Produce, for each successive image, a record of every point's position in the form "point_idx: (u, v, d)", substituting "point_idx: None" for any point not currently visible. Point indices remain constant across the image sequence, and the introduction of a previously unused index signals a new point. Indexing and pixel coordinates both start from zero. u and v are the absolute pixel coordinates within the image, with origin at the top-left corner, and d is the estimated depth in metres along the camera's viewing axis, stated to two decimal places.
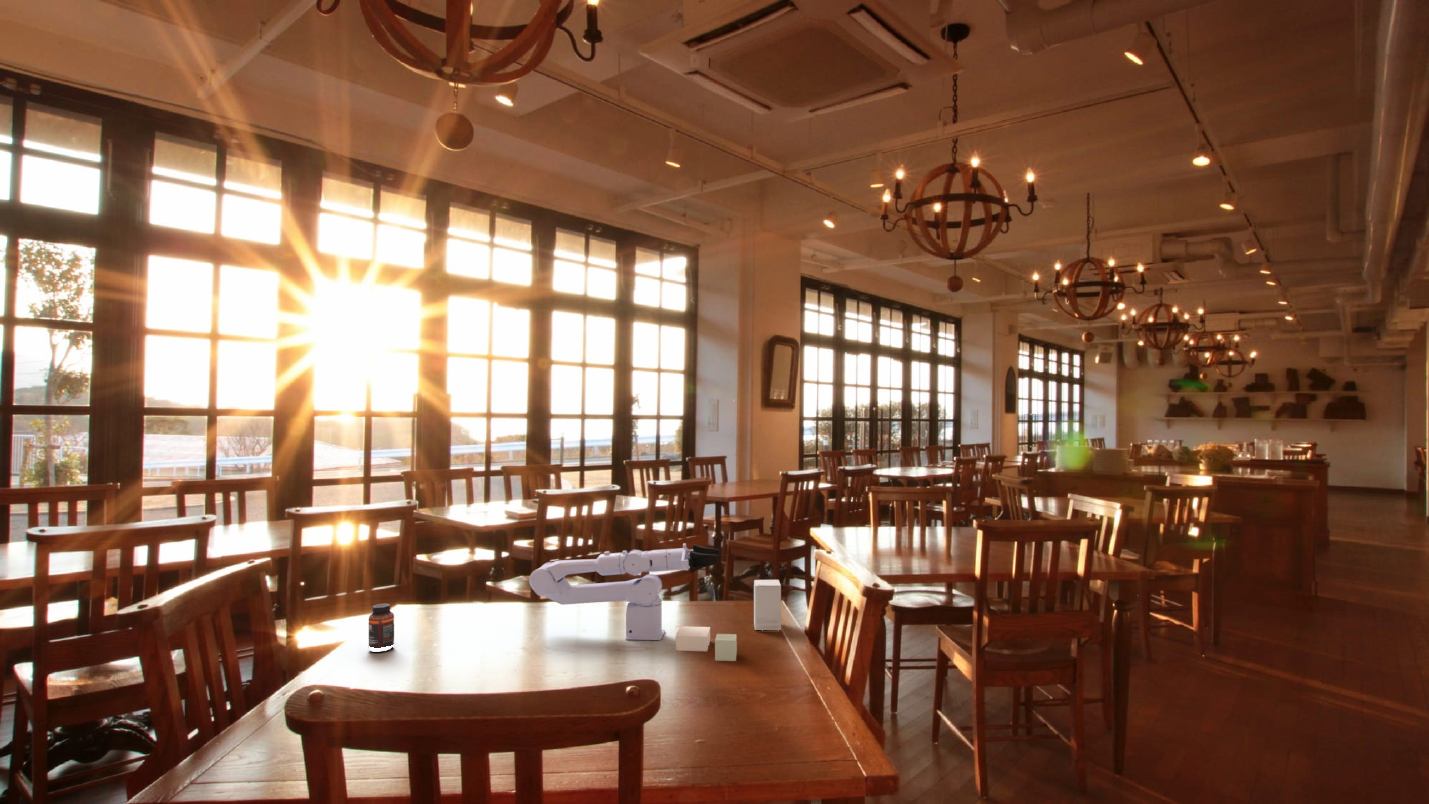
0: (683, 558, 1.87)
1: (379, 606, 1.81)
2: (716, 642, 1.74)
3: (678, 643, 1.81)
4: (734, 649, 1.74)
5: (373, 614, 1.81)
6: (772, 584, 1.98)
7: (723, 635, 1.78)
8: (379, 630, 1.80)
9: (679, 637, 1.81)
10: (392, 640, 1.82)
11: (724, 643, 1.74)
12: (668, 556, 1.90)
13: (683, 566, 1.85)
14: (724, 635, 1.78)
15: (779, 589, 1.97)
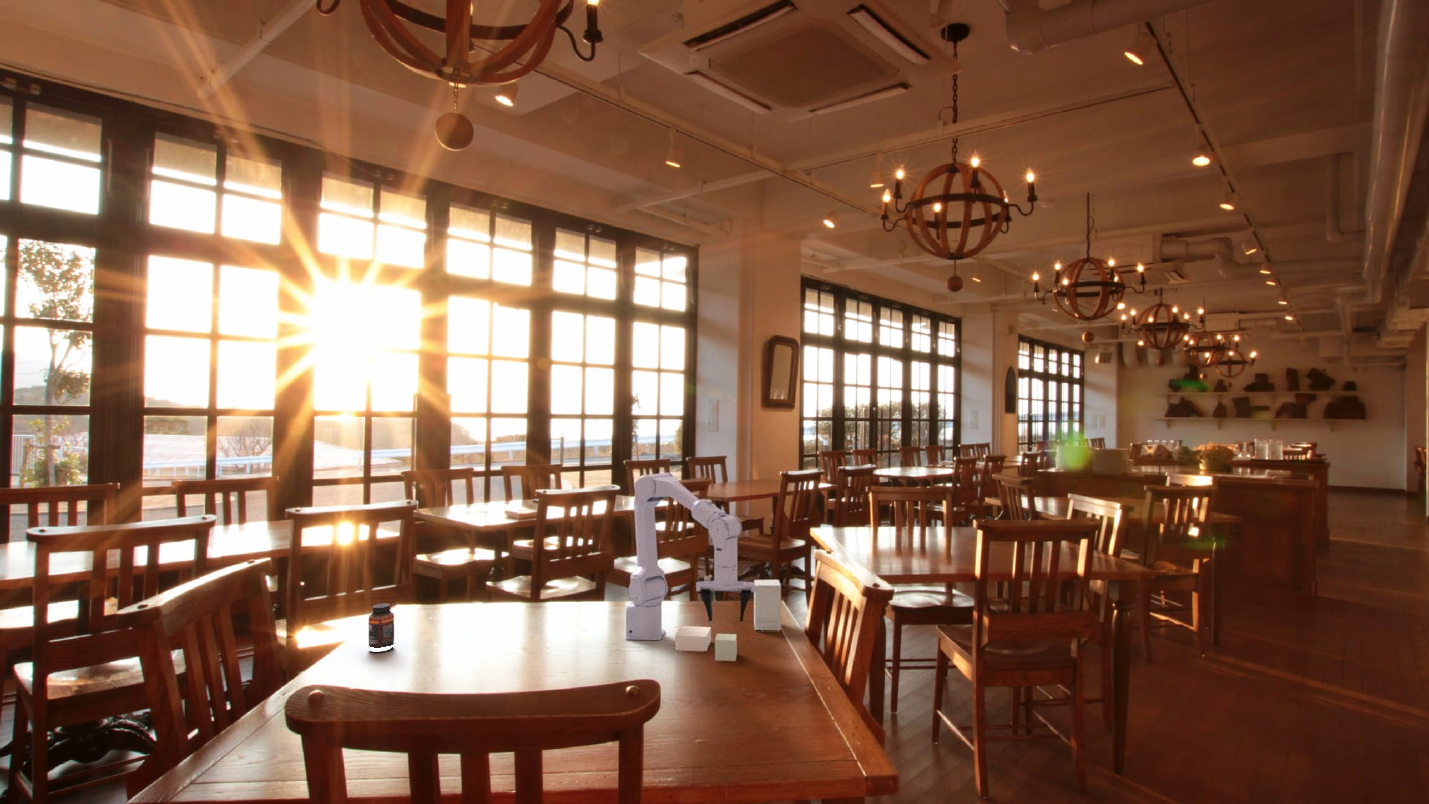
0: (702, 585, 1.76)
1: (379, 606, 1.81)
2: (716, 642, 1.74)
3: (677, 643, 1.81)
4: (734, 649, 1.74)
5: (373, 614, 1.81)
6: (772, 584, 1.98)
7: (723, 635, 1.78)
8: (379, 630, 1.80)
9: (679, 636, 1.81)
10: (392, 640, 1.82)
11: (724, 643, 1.74)
12: (715, 568, 1.75)
13: None
14: (724, 635, 1.78)
15: (779, 589, 1.97)
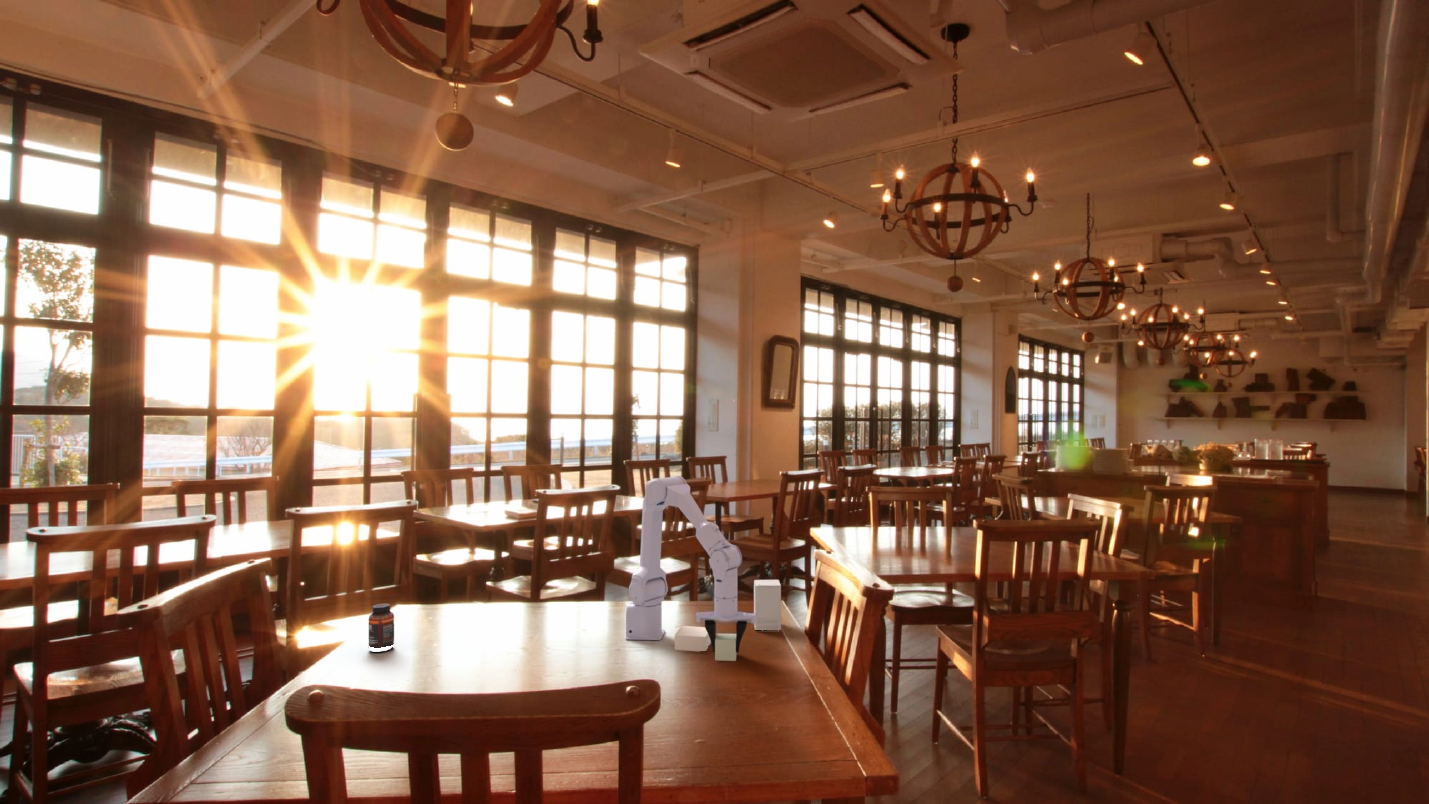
0: (702, 617, 1.76)
1: (379, 606, 1.81)
2: (716, 642, 1.74)
3: (676, 643, 1.82)
4: (734, 649, 1.74)
5: (373, 614, 1.81)
6: (772, 584, 1.98)
7: (723, 635, 1.78)
8: (379, 630, 1.80)
9: (678, 636, 1.82)
10: (392, 640, 1.82)
11: (724, 642, 1.74)
12: (715, 599, 1.75)
13: None
14: (724, 635, 1.78)
15: (779, 589, 1.97)
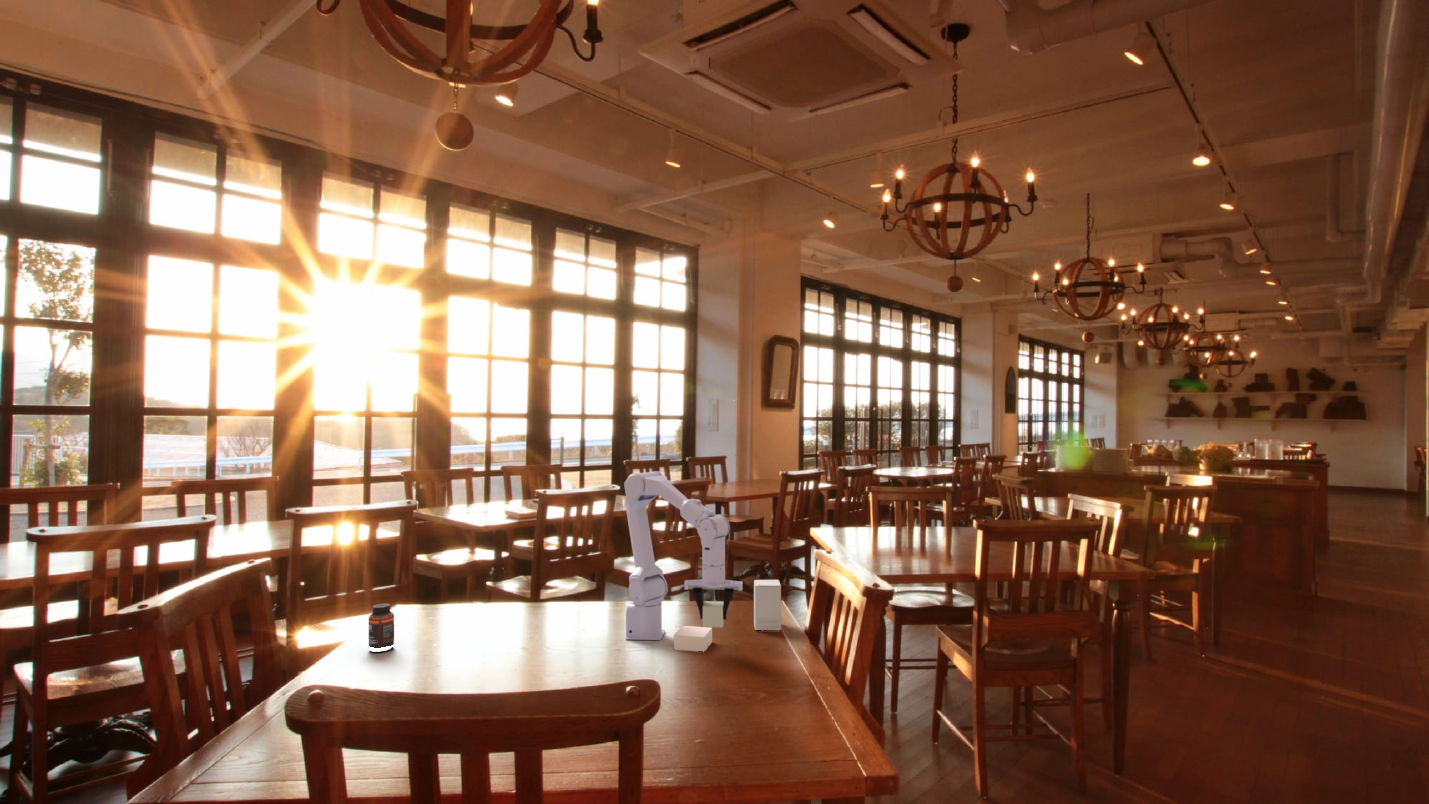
0: (690, 584, 1.79)
1: (379, 606, 1.81)
2: (703, 608, 1.77)
3: (676, 643, 1.82)
4: (721, 615, 1.77)
5: (373, 614, 1.81)
6: (772, 584, 1.98)
7: (711, 602, 1.81)
8: (379, 630, 1.80)
9: (677, 636, 1.82)
10: (392, 640, 1.82)
11: (712, 609, 1.77)
12: (703, 567, 1.78)
13: None
14: (712, 602, 1.81)
15: (779, 589, 1.97)
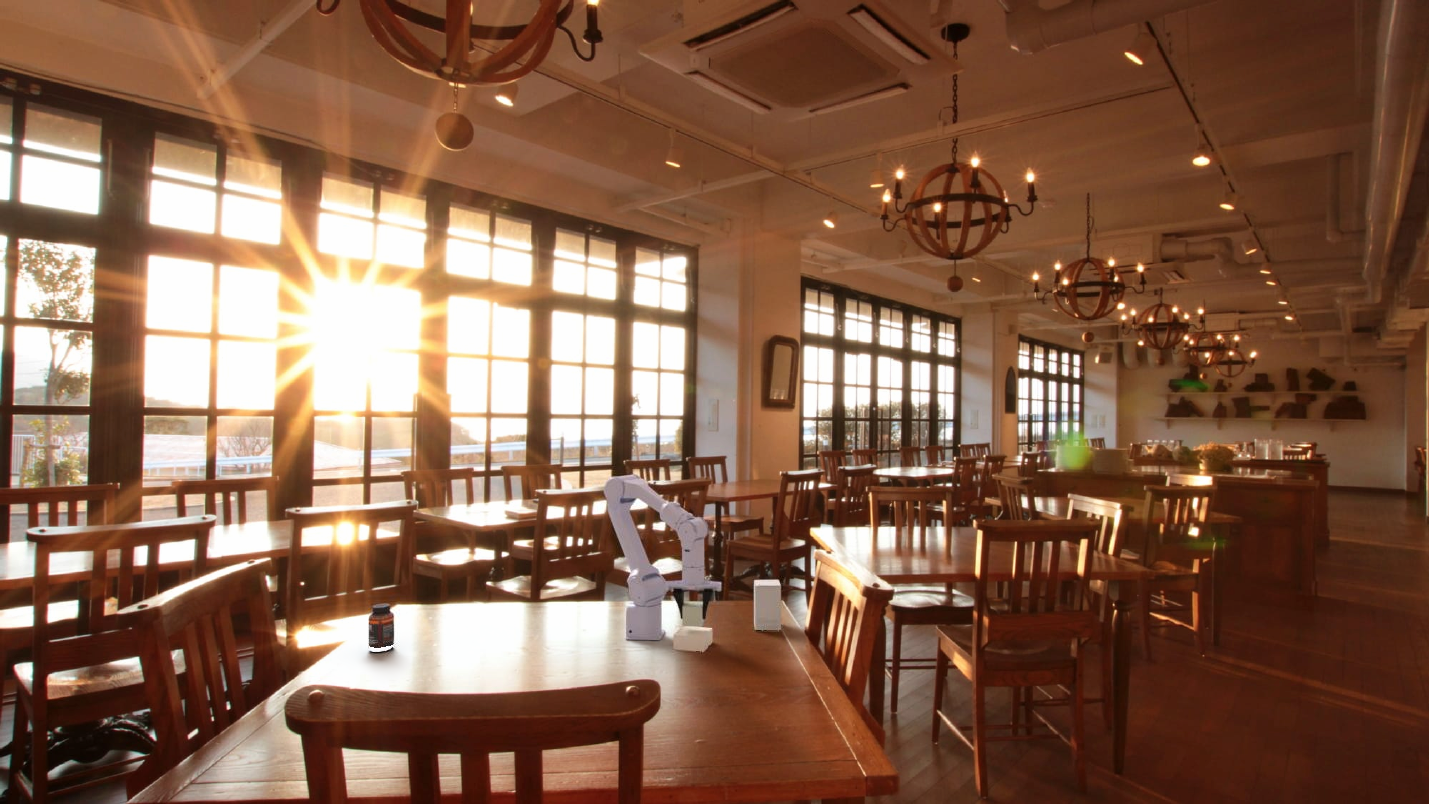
0: (670, 585, 1.84)
1: (379, 606, 1.81)
2: (683, 608, 1.83)
3: (675, 642, 1.82)
4: (700, 615, 1.82)
5: (373, 614, 1.81)
6: (772, 584, 1.98)
7: (691, 602, 1.86)
8: (379, 630, 1.80)
9: (677, 636, 1.82)
10: (392, 640, 1.82)
11: (691, 609, 1.83)
12: (683, 568, 1.84)
13: None
14: (692, 602, 1.86)
15: (779, 589, 1.97)
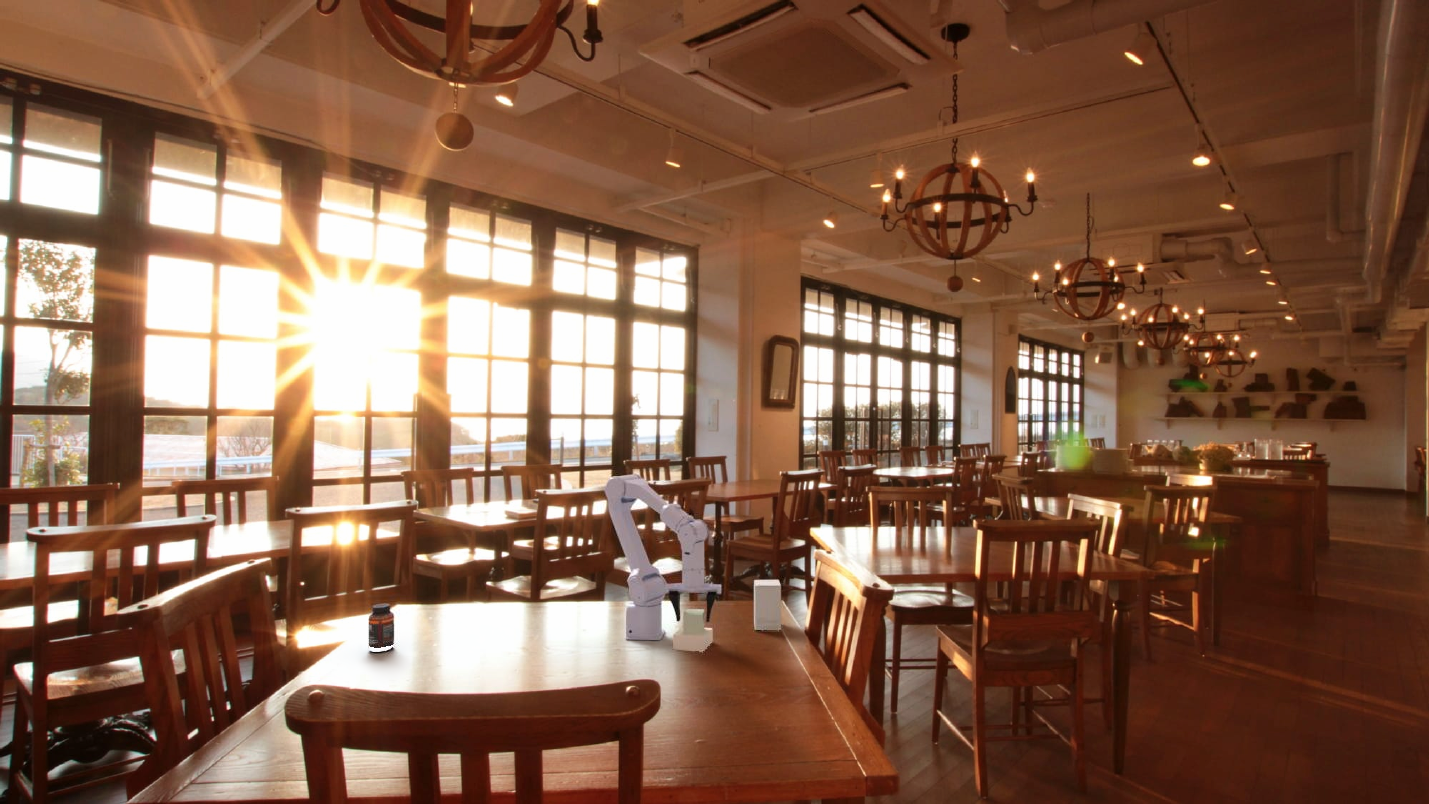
0: (670, 587, 1.84)
1: (379, 606, 1.81)
2: (684, 616, 1.83)
3: (675, 642, 1.82)
4: (701, 623, 1.82)
5: (373, 614, 1.81)
6: (772, 584, 1.98)
7: (691, 610, 1.86)
8: (379, 630, 1.80)
9: (677, 636, 1.82)
10: (392, 640, 1.82)
11: (692, 617, 1.83)
12: (683, 571, 1.84)
13: None
14: (692, 610, 1.86)
15: (779, 589, 1.97)
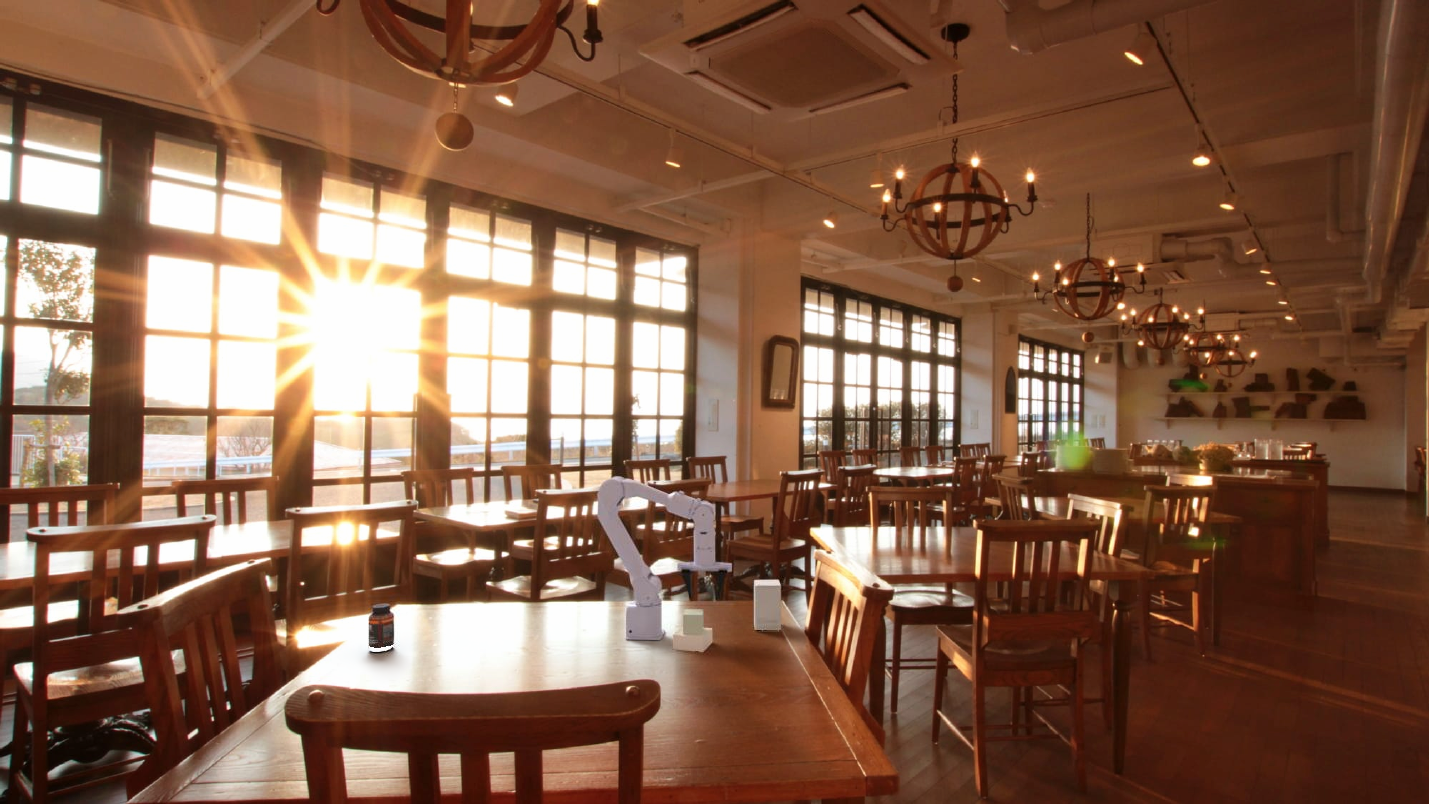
0: (683, 566, 1.92)
1: (379, 606, 1.81)
2: (684, 616, 1.83)
3: (675, 642, 1.82)
4: (701, 623, 1.82)
5: (373, 614, 1.81)
6: (772, 584, 1.98)
7: (690, 610, 1.86)
8: (379, 630, 1.80)
9: (676, 636, 1.82)
10: (392, 640, 1.82)
11: (692, 617, 1.82)
12: (694, 550, 1.91)
13: None
14: (691, 610, 1.86)
15: (779, 589, 1.97)
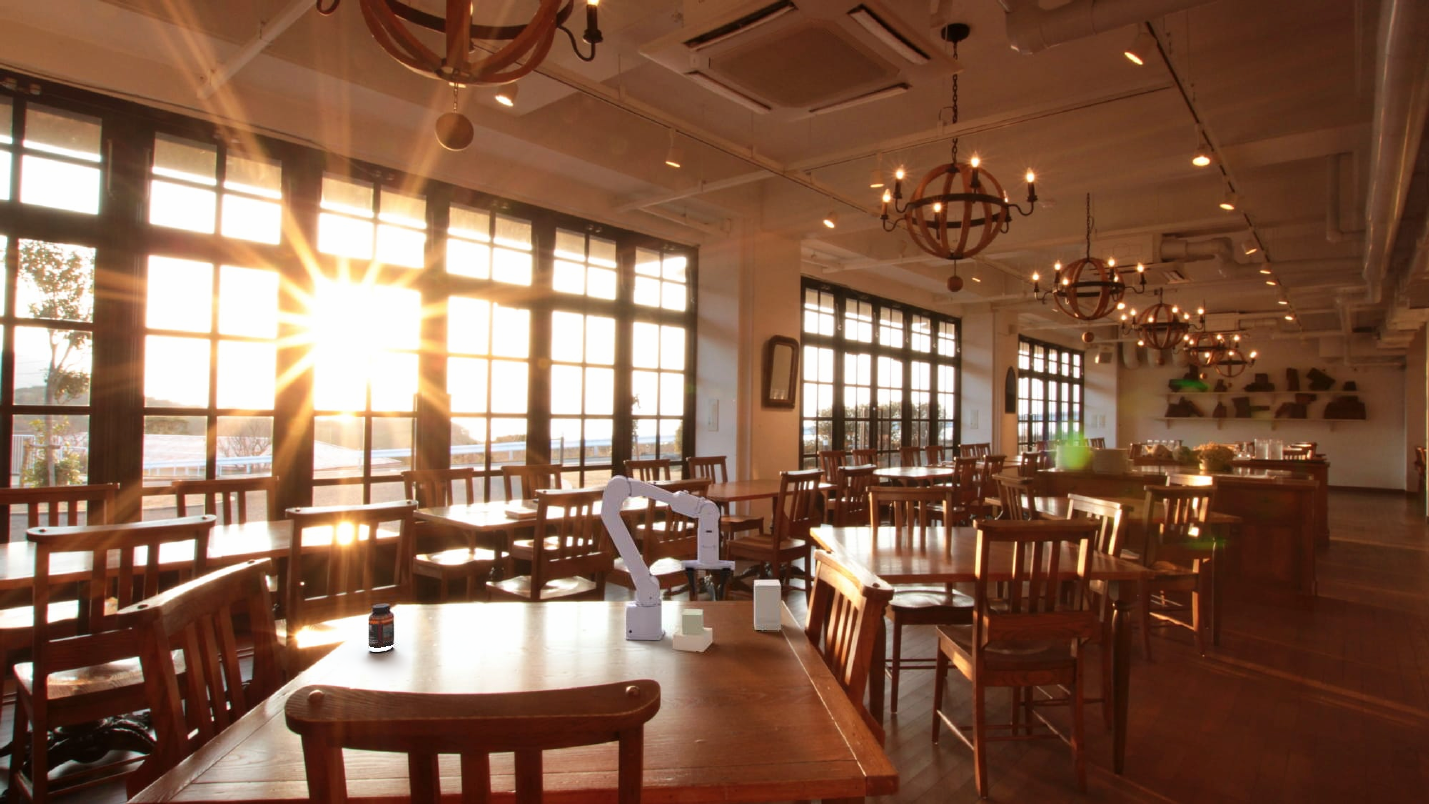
0: (687, 564, 1.94)
1: (379, 606, 1.81)
2: (683, 616, 1.83)
3: (675, 642, 1.82)
4: (700, 623, 1.82)
5: (373, 614, 1.81)
6: (772, 584, 1.98)
7: (690, 610, 1.86)
8: (379, 630, 1.80)
9: (676, 636, 1.82)
10: (392, 640, 1.82)
11: (691, 617, 1.82)
12: (698, 548, 1.94)
13: None
14: (691, 610, 1.86)
15: (779, 589, 1.97)
